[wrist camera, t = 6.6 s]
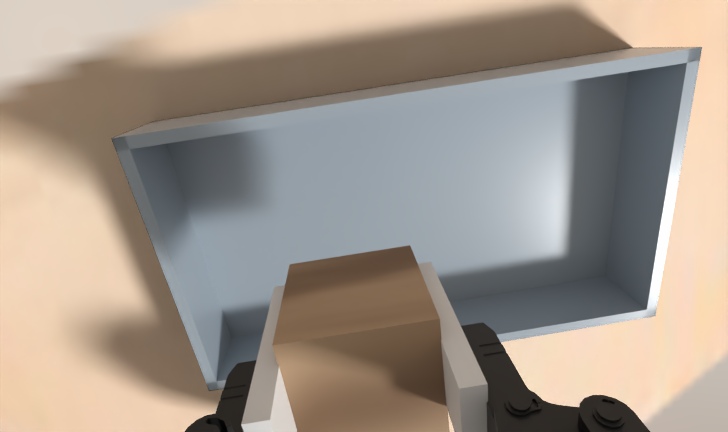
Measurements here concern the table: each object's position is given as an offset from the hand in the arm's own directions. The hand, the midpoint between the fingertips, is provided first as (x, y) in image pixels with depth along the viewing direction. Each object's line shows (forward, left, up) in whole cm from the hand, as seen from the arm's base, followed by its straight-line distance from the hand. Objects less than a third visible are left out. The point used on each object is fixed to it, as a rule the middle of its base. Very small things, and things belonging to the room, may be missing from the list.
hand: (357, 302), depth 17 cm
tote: (+4, 0, -9) cm, 10 cm away
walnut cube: (0, -1, 0) cm, 1 cm away
